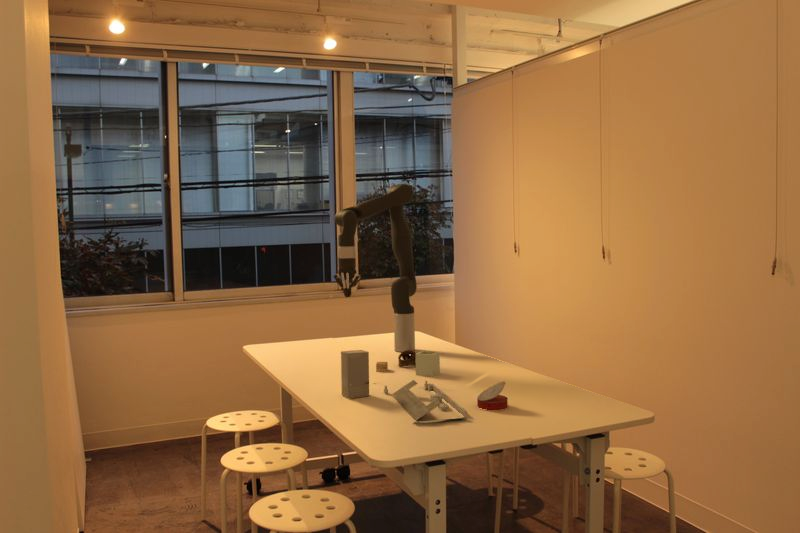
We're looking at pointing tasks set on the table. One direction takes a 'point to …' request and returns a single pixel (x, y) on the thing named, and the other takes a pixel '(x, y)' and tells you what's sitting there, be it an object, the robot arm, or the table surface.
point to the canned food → (493, 398)
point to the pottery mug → (407, 358)
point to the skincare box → (355, 373)
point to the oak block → (381, 366)
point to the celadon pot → (427, 363)
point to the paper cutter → (419, 407)
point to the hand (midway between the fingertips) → (347, 296)
